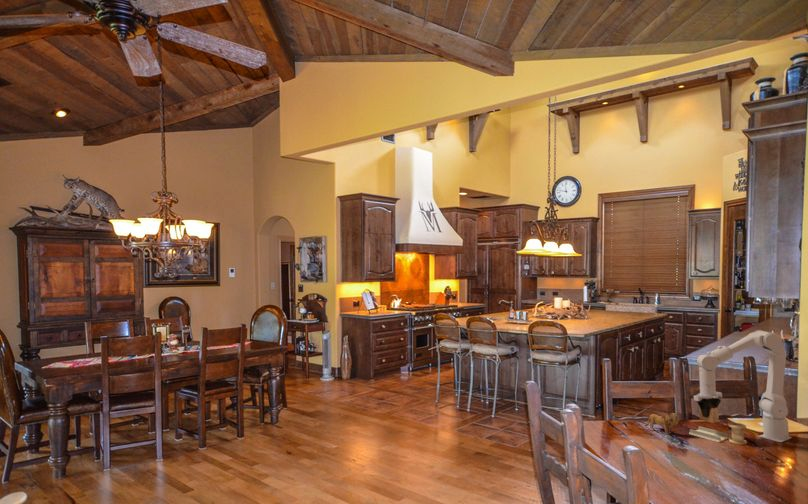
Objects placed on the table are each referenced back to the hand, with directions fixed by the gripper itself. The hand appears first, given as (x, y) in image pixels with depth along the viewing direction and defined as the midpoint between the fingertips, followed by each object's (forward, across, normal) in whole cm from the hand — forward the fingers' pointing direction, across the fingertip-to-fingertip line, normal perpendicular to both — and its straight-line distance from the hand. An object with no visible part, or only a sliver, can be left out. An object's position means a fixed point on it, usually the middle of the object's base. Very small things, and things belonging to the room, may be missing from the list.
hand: (708, 416), depth 206 cm
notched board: (+8, 0, 0) cm, 8 cm away
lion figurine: (+9, -12, +12) cm, 20 cm away
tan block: (+2, 0, 0) cm, 2 cm away
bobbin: (+8, +4, -9) cm, 13 cm away
